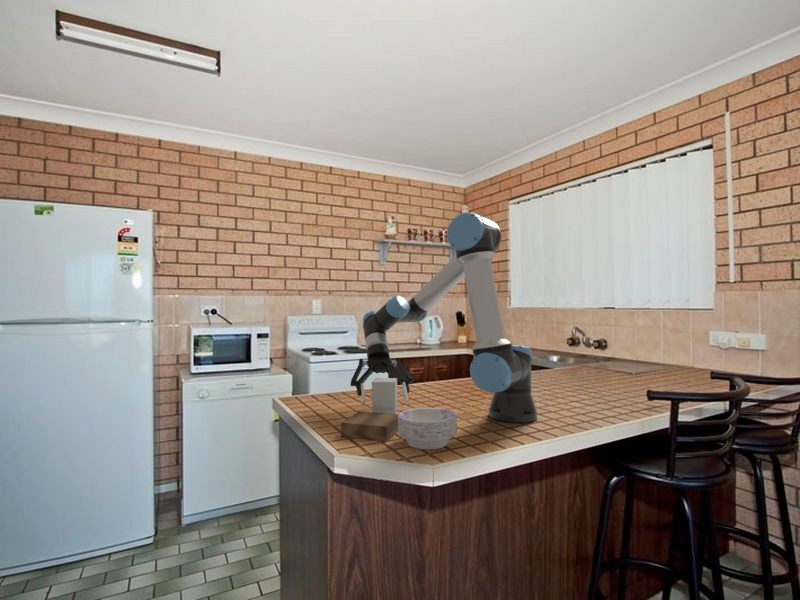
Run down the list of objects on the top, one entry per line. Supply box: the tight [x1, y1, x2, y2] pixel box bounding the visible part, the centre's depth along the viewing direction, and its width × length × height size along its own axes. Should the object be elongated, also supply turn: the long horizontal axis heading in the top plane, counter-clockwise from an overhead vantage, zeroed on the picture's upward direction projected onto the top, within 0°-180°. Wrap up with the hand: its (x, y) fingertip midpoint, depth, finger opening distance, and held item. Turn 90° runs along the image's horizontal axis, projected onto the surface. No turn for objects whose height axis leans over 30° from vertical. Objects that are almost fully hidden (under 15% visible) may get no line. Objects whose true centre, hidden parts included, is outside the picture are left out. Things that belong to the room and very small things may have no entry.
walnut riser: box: [340, 411, 399, 443], centre depth 120 cm, size 13×13×4 cm
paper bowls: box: [397, 407, 458, 451], centre depth 110 cm, size 15×15×8 cm
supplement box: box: [371, 377, 398, 414], centre depth 133 cm, size 7×7×13 cm
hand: (385, 402), depth 132 cm, fingers open, 13 cm apart
